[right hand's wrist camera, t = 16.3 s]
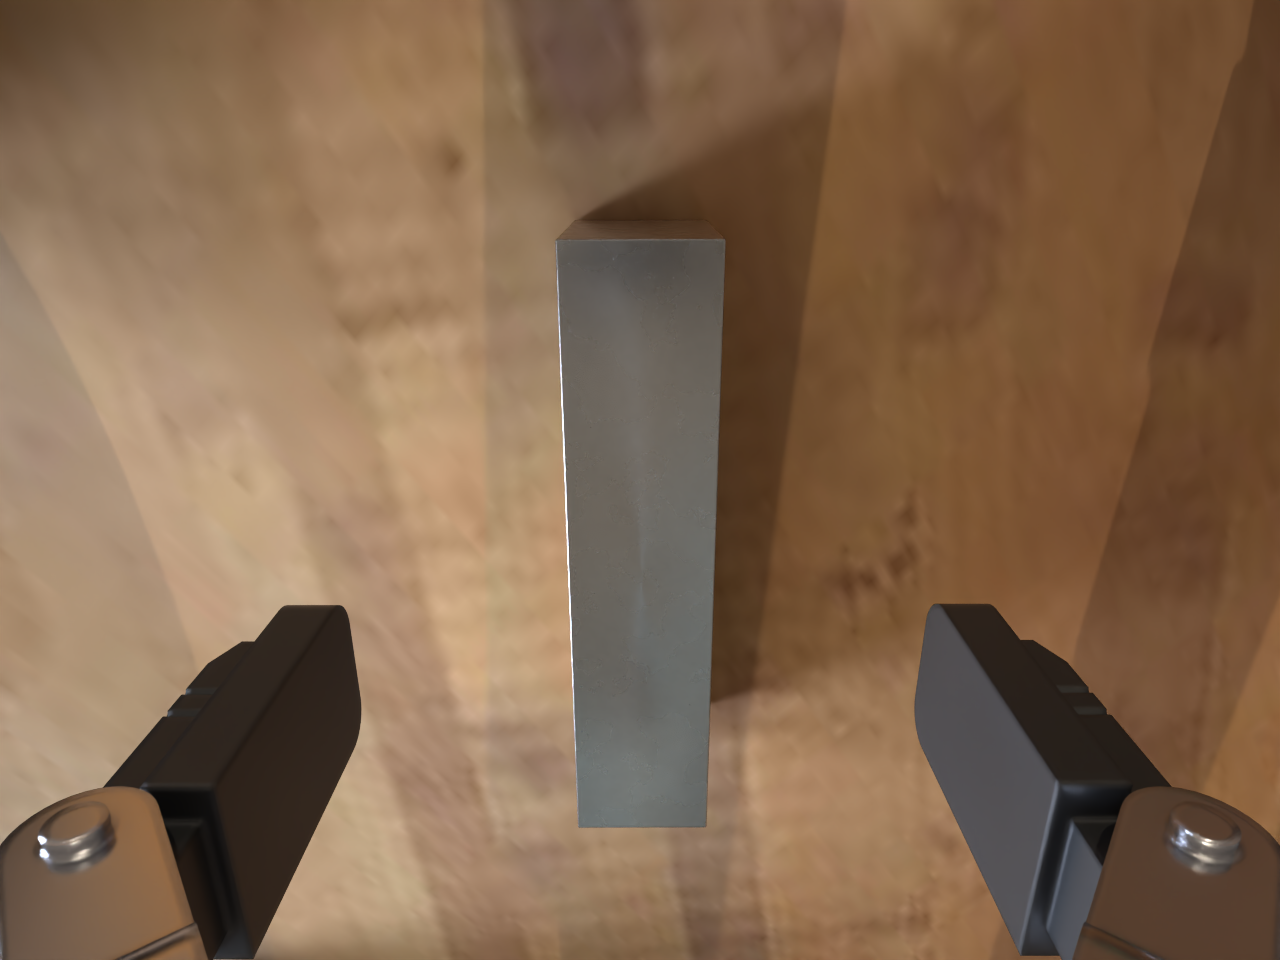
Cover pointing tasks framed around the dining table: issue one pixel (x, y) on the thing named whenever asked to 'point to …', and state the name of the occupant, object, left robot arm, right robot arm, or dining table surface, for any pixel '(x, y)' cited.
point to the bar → (641, 510)
